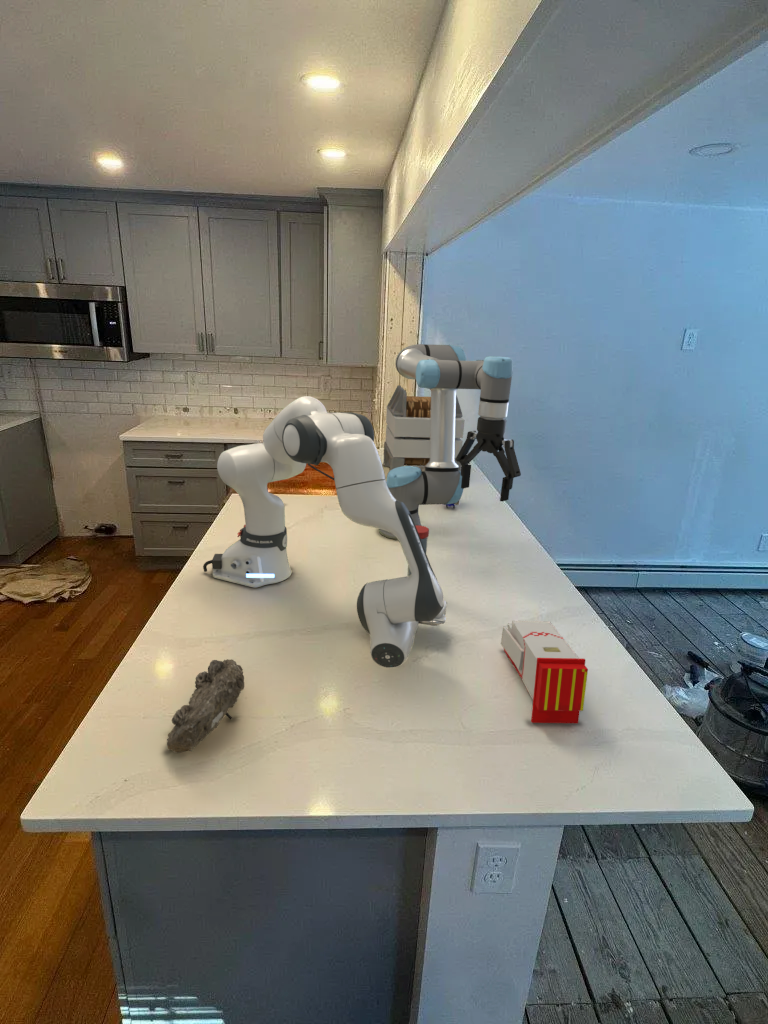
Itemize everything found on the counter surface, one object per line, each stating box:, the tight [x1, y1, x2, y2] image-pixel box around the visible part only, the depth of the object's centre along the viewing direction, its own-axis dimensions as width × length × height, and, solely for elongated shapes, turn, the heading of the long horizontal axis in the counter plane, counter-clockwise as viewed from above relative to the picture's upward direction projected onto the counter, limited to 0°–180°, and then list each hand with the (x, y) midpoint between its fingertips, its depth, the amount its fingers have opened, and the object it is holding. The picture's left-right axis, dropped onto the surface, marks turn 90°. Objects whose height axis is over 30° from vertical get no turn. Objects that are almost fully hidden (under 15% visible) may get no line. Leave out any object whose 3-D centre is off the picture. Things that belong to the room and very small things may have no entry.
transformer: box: [382, 384, 465, 471], centre depth 268 cm, size 34×33×41 cm
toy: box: [500, 620, 589, 724], centre depth 121 cm, size 12×13×30 cm
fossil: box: [166, 658, 245, 754], centre depth 106 cm, size 22×10×15 cm
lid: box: [416, 525, 430, 539], centre depth 153 cm, size 5×5×2 cm
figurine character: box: [445, 500, 460, 509], centre depth 231 cm, size 7×8×15 cm
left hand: (409, 592), depth 146 cm, fingers open, 8 cm apart
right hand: (484, 493), depth 157 cm, fingers open, 13 cm apart
